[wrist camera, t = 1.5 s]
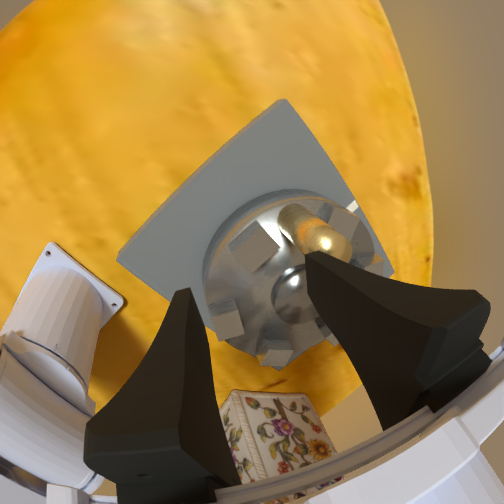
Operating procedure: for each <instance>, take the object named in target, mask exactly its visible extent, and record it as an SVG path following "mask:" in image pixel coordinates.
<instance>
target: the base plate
mask: <svg viewBox="0 0 504 504" xmlns="http://www.w3.org/2000/svg"><path fill="white" fill-rule="evenodd" d="M283 189H302V190H309V191H312V192H316V193H319V194H321V195H323V196H325V197H327V198H329V199H331V200H332V201H334V202H336V203H337V204H339V205H341V206H343V207H344V208H346V209H348V210H349V211H351V212H352V213H354V214H356V215H357V216H359V217H360V220H361V221H362V222H363V224H364V225H365V226H366V228H367V229H368V231H369V233H370V236H371V238H372V241H373V245H374V251H375V253H376V254H377V255H379V256H380V257H381V258H382V259H384V267H383V277H386V278H389V277H390V276H391V275H392V274H393V273H394V270H393V268H392V265H391V263H390V261H389V259H388V257H387V256H386V254H385V252H384V250H383V248H382V246H381V244H380V242H379V240H378V238H377V236H376V235H375V233H374V231H373V229H372V227H371V225H370V224H369V222H368V220H367V218H366V217H365V215H364V213H363V211H362V210H361V208H360V206H359V205H358V203H357V201H356V199H355V198H354V196H353V194H352V193H351V191H350V190H349V188H348V186H347V185H346V183H345V182H344V180H343V178H342V177H341V175H340V174H339V172H338V171H337V169H336V167H335V166H334V164H333V163H332V161H331V160H330V158H329V157H328V155H327V154H326V152H325V151H324V150H323V148H322V147H321V145H320V144H319V142H318V141H317V139H316V138H315V137H314V135H313V134H312V132H311V131H310V130H309V128H308V127H307V126H306V124H305V123H304V122H303V120H302V119H301V118H300V116H299V115H298V114H297V112H296V111H295V110H294V108H293V107H292V106H291V104H290V103H289V102H288V101H287V99H281V100H277V101H276V102H275V103H274V104H272V105H271V106H270V107H268V108H267V109H266V110H265V111H263V112H262V113H261V114H260V115H259V116H257V117H256V118H255V119H254V120H252V121H251V122H250V123H249V124H248V125H246V126H245V127H244V128H243V129H242V130H241V131H239V132H238V133H237V134H236V135H235V136H234V137H232V138H231V139H230V140H229V141H228V142H227V143H226V144H224V145H223V146H222V147H221V148H220V149H219V150H218V151H217V152H216V153H214V154H213V155H212V156H211V157H210V158H209V159H208V160H207V161H206V162H205V163H204V164H203V165H201V166H200V167H199V168H198V169H197V170H196V171H195V172H194V173H193V174H192V175H191V176H190V177H189V178H188V179H187V180H186V181H185V182H184V183H183V184H182V185H181V186H180V187H179V188H178V189H177V190H176V191H175V192H174V193H173V194H172V195H171V196H170V197H169V198H168V199H167V200H166V201H165V202H164V203H163V204H162V205H161V206H160V207H159V208H158V209H157V210H156V211H155V212H154V213H153V214H152V215H151V217H150V218H149V219H148V220H147V221H146V222H145V223H144V224H143V225H142V226H141V227H140V228H139V230H138V231H137V232H136V233H135V234H134V235H133V236H132V237H131V238H130V240H129V241H128V242H127V243H126V244H125V245H124V246H123V248H122V249H121V250H120V251H119V253H118V256H117V259H116V261H117V262H118V263H120V264H121V265H122V266H123V267H125V268H126V269H127V270H129V271H130V272H131V273H132V274H134V275H135V276H136V277H138V278H139V279H140V280H142V281H143V282H144V283H145V284H147V285H148V286H149V287H151V288H152V289H154V290H155V291H156V292H158V293H159V294H160V295H162V296H163V297H164V298H166V299H167V300H169V301H170V302H171V300H172V297H173V295H174V293H175V291H177V290H181V289H185V288H188V287H190V288H191V291H192V293H193V296H194V299H195V302H196V304H197V307H198V310H199V312H200V315H201V317H202V320H203V323H204V325H205V326H206V327H208V328H209V329H211V330H212V331H214V332H215V330H214V327H213V324H212V321H211V319H210V315H209V311H208V307H207V303H206V298H205V294H204V289H203V283H202V266H203V261H204V256H205V253H206V250H207V248H208V245H209V243H210V241H211V239H212V237H213V236H214V234H215V232H216V231H217V230H218V228H219V227H220V226H221V224H222V223H223V222H224V221H225V220H226V219H227V218H228V217H229V216H230V215H231V214H232V213H233V212H234V211H235V210H237V209H238V208H239V207H240V206H242V205H244V204H245V203H247V202H248V201H250V200H252V199H254V198H256V197H258V196H261V195H263V194H266V193H269V192H273V191H277V190H283ZM308 349H309V348H308ZM306 350H307V349H306ZM306 350H303V351H300V352H297V353H293V354H292V355H291V356H290V358H289V360H288V361H287V363H286V365H285V366H287V365H288V364H289V363H291V362H292V361H293V360H295V359H296V358H297V357H298V356H300V355H301V354H302V353H304V352H305V351H306ZM251 355H252V356H254V357H256V355H254V354H251ZM256 358H257V357H256ZM285 366H271V367H273V368H275V369H276V370H278V371H280V370H281V369H283V368H284V367H285Z"/></svg>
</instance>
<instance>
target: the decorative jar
mask: <svg viewBox="0 0 504 504" xmlns="http://www.w3.org/2000/svg"><path fill="white" fill-rule="evenodd" d="M219 413H220V416H221V420H222V424H223V427H224V431H225V434H226V437H227V441H228V444H229V447H230V450H231V453H232V456H233V460H234V462H235V465H236V468H237V471H238V474H239V477H240V479H241V482H242V484H247V483H251V482H255V481H259V480H263V479H267V478H270V477H274V476H277V475H280V474H284V473H287V472H290V471H293V470H296V469H299V468H302V467H305V466H308V465H310V464H313V463H316V462H318V461H321V460H324V459H326V458H329V457H331V456H333V455H336V454H338V453H337V451H336V449H335V447H334V446H333V443H332V441H331V440H330V438H329V436H328V434H327V432H326V430H325V428H324V426H323V424H322V422H321V420H320V418H319V416H318V414H317V412H316V410H315V409H314V407H313V405H312V403H311V401H310V400H309V398H308V397H307V395H306V394H304V393H269V392H250V391H243V390H232V392H231V394H230V395H229V396H228V398H227V399H226V401H225V402H224V403H223V405H222V406H221V407H220V409H219ZM343 479H344V475H343V476H340V477H338V478H336V479H333V480H331V481H328V482H326V483H323V484H321V485H318V486H315V487H313V488H310V489H307V490H304V491H301V492H298V493H295V494H292V495H288V496H285V497H282V498H278V499H275V500H271V501H267V502H263V503H259V504H284V503H287V502H290V501H293V500H296V499H299V498H301V497H304V496H307V495H309V494H312V493H314V492H317V491H319V490H322V489H323V488H325V487H327V486H330V485H332V484H334V483H336V482H339V481H341V480H343Z"/></svg>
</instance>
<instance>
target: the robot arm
mask: <svg viewBox="0 0 504 504" xmlns="http://www.w3.org/2000/svg"><path fill="white" fill-rule="evenodd" d="M47 251H49V252H50V253H51V255H49V254H48V253H47ZM304 255H305V267H306V280H307V293H308V296H309V297H310V299H311V301H312V303H313V305H314V307H315V309H316V311H317V312H318V314H319V315H320V317H321V318H322V320H323V321H324V322H325V324H326V325H327V327H328V328H329V329H330V331H331V332H332V333H333V335H334V336H335V338H336V339H337V340H338V342H339V343H340V344H341V346H342V347H343V349H344V350H345V352H346V353H347V355H348V357H349V358H350V360H351V362H352V364H353V366H354V368H355V369H356V371H357V373H358V375H359V377H360V379H361V381H362V383H363V385H364V387H365V389H366V391H367V393H368V395H369V398H370V400H371V402H372V404H373V407H374V409H375V411H376V414H377V416H378V419H379V421H380V424H381V426H382V429H383V432H382V433H380V434H378V435H376V436H374V437H372V438H370V439H368V440H366V441H364V442H362V443H360V444H358V445H356V446H354V447H352V448H349V449H347V450H345V451H343V452H341V453H338V454H336V455H333V456H331V457H329V458H326V459H324V460H321V461H318V462H316V463H313V464H310V465H308V466H305V467H302V468H299V469H296V470H293V471H290V472H287V473H284V474H280V475H277V476H274V477H270V478H267V479H263V480H259V481H255V482H251V483H247V484H242V482H241V479H240V477H239V474H238V471H237V468H236V465H235V462H234V460H233V456H232V453H231V450H230V447H229V444H228V441H227V437H226V434H225V431H224V427H223V424H222V420H221V416H220V413H219V409H218V405H217V401H216V396H215V390H214V382H213V374H212V366H211V357H210V349H209V343H208V338H207V334H206V330H205V325H204V323H203V320H202V317H201V315H200V312H199V310H198V307H197V304H196V302H195V299H194V296H193V293H192V291H191V288H190V287H188V288H185V289H181V290H177V291H175V293H174V295H173V297H172V300H171V303H170V305H169V308H168V310H167V313H166V315H165V317H164V320H163V322H162V324H161V327H160V329H159V331H158V333H157V335H156V337H155V339H154V341H153V343H152V345H151V347H150V348H149V350H148V352H147V354H146V355H145V357H144V358H143V360H142V362H141V363H140V365H139V366H138V368H137V369H136V370H135V372H134V373H133V374H132V376H131V377H130V378H129V380H128V381H127V382H126V383H125V385H124V386H123V387H122V388H121V389H120V391H119V392H118V393H117V394H116V395H115V396H114V397H113V398H112V399H111V400H110V401H109V402H108V403H107V404H106V405H105V406H104V407H103V408H102V409H101V410H100V411H99V412H98V413H97V414H96V415H95V404H96V403H95V402H94V401H93V400H92V399H91V398H90V397H89V396H88V389H89V382H90V376H91V370H92V364H93V359H94V354H95V349H96V344H97V339H98V335H99V331H100V330H101V328H102V327H103V326H104V325H105V324H106V323H107V322H108V321H109V320H110V318H111V317H112V316H113V315H114V314H115V313H116V312H117V311H118V310H119V309H120V307H121V306H122V305H123V303H124V299H123V297H122V296H121V295H119V294H118V293H117V292H115V291H114V290H113V289H111V288H110V287H109V286H107V285H106V284H105V283H103V282H102V281H101V280H99V279H98V278H97V277H95V276H94V275H93V274H92V273H90V272H89V271H88V270H87V269H85V268H84V267H83V266H82V265H80V264H79V263H78V262H77V261H75V260H74V259H73V258H72V257H71V256H69V255H68V254H67V253H66V252H65V251H64V250H62V249H61V248H60V247H59V246H58V245H57V244H56V243H54V242H49V243H48V244H47V245H46V247H45V249H44V250H43V252H42V254H41V255H40V257H39V259H38V261H37V262H36V264H35V266H34V268H33V270H32V271H31V273H30V275H29V277H28V279H27V281H26V283H25V285H24V287H23V289H22V291H21V293H20V295H19V297H18V299H17V301H16V303H15V305H14V307H13V310H12V312H11V314H10V315H9V317H8V319H7V321H6V322H5V324H4V326H3V328H2V330H1V332H0V504H259V503H263V502H267V501H271V500H275V499H278V498H282V497H285V496H288V495H292V494H295V493H298V492H301V491H304V490H307V489H310V488H313V487H315V486H318V485H321V484H323V483H326V482H328V481H331V480H333V479H336V478H338V477H340V476H343V475H345V474H347V473H349V472H352V471H354V470H356V469H358V468H360V467H362V466H364V465H366V464H368V463H370V462H372V461H374V460H376V459H378V458H380V457H382V456H384V455H385V454H387V453H389V452H391V451H393V450H394V449H396V448H398V447H399V446H401V445H403V444H404V443H406V442H407V441H409V440H411V439H412V438H414V437H415V436H417V435H419V434H420V433H421V434H420V436H419V438H418V439H417V440H415V441H414V442H412V443H411V444H409V445H408V446H406V447H404V448H403V449H401V450H399V451H398V452H396V453H394V454H392V455H391V456H389V457H387V458H385V459H383V460H382V461H380V462H378V463H376V464H374V465H372V466H370V467H368V468H366V469H364V470H362V471H360V472H358V473H356V474H354V475H352V476H349V477H347V478H346V479H343V480H341V481H339V482H336V483H334V484H332V485H330V486H327V487H325V488H323V489H322V490H319V491H317V492H314V493H312V494H309V495H307V496H304V497H301V498H299V499H296V500H293V501H290V502H287V503H284V504H504V486H503V485H502V483H501V482H500V480H499V478H498V477H497V475H496V474H495V472H494V471H493V469H492V468H491V466H490V465H489V463H488V462H487V460H486V459H485V457H484V456H483V454H482V453H481V451H480V450H479V448H480V444H481V443H482V442H483V441H484V440H485V439H486V438H487V437H488V436H489V435H490V434H491V433H492V432H493V431H494V430H495V429H496V428H497V426H498V425H499V424H500V423H501V422H502V421H503V420H504V338H503V339H502V342H501V345H500V346H499V347H498V348H497V349H496V350H494V351H493V352H492V353H491V354H490V355H489V356H488V355H487V354H486V353H485V352H484V351H483V350H482V348H483V346H484V344H483V343H482V342H481V340H480V339H479V337H480V335H481V333H482V331H483V329H484V326H485V324H486V322H487V320H488V317H489V314H490V310H491V307H490V302H489V301H488V300H486V299H485V298H484V297H483V296H482V295H481V294H479V293H478V292H477V291H476V290H453V289H440V288H431V287H424V286H419V285H414V284H409V283H404V282H400V281H397V280H393V279H389V278H386V277H383V276H380V275H377V274H374V273H371V272H369V271H366V270H363V269H361V268H358V267H356V266H354V265H351V264H349V263H347V262H344V261H342V260H340V259H337V258H335V257H333V256H331V255H328V254H326V253H323V252H321V251H314V252H311V253H308V254H304ZM113 303H115V304H117V305H116V306H115V305H113ZM94 415H95V416H94ZM105 478H106V479H108V480H110V481H112V482H114V483H116V488H117V496H103V495H91V494H92V493H93V492H94V491H95V490H97V489H98V488H99V486H100V485H101V484H102V483H103V481H104V479H105Z"/></svg>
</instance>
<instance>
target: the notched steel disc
mask: <svg viewBox="0 0 504 504" xmlns="http://www.w3.org/2000/svg"><path fill="white" fill-rule="evenodd" d="M314 251H321V252H323V253H326V254H328V255H331V256H333V257H335V258H337V259H340V260H342V261H344V262H347V263H349V264H351V265H354V266H356V267H358V268H361V269H363V270H366V271H369V272H371V273H374V274H377V275H380V276H383V267H384V259H382V258H381V257H380V256H379V255H377V254H376V253H375V251H374V245H373V241H372V238H371V236H370V233H369V231H368V229H367V228H366V226H365V225H364V224H363V222H362V221H361V220H360V217H359V216H357V215H356V214H354V213H352V212H351V211H349V210H348V209H346V208H344V207H343V206H341V205H339V204H337V203H336V202H334V201H332V200H331V199H329V198H327V197H325V196H323V195H321V194H319V193H316V192H312V191H309V190H302V189H283V190H277V191H273V192H269V193H266V194H263V195H261V196H258V197H256V198H254V199H252V200H250V201H248V202H247V203H245V204H244V205H242V206H240V207H239V208H238V209H237V210H235V211H234V212H233V213H232V214H231V215H230V216H229V217H228V218H227V219H226V220H225V221H224V222H223V223H222V224H221V226H220V227H219V228H218V230H217V231H216V232H215V234H214V236H213V237H212V239H211V241H210V243H209V245H208V248H207V250H206V253H205V256H204V261H203V266H202V283H203V289H204V294H205V298H206V303H207V307H208V311H209V315H210V319H211V321H212V324H213V327H214V330H215V332H216V335H217V338H218V340H219V341H223V340H225V341H226V342H228V343H229V344H230V345H232V346H233V347H235V348H237V349H239V350H241V351H243V352H246V353H249V354H254V355H256V357H257V360H258V362H259V365H260V366H285V365H286V363H287V361H288V360H289V358H290V356H291V355H292V354H293V353H297V352H300V351H303V350H306V349H308V348H311V347H313V346H315V345H317V344H319V343H321V342H322V341H324V340H326V339H327V340H328V341H329V342H330V343H331V344H332V345H333V346H336V345H338V344H339V342H338V340H337V339H336V338H335V336H334V335H333V333H332V332H331V331H330V329H329V328H328V327H327V325H326V324H325V322H324V321H323V320H322V318H321V317H320V315H319V314H318V312H317V311H316V309H315V307H314V305H313V303H312V301H311V299H310V297H309V296H308V293H307V280H306V267H305V255H304V254H308V253H311V252H314Z"/></svg>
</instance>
